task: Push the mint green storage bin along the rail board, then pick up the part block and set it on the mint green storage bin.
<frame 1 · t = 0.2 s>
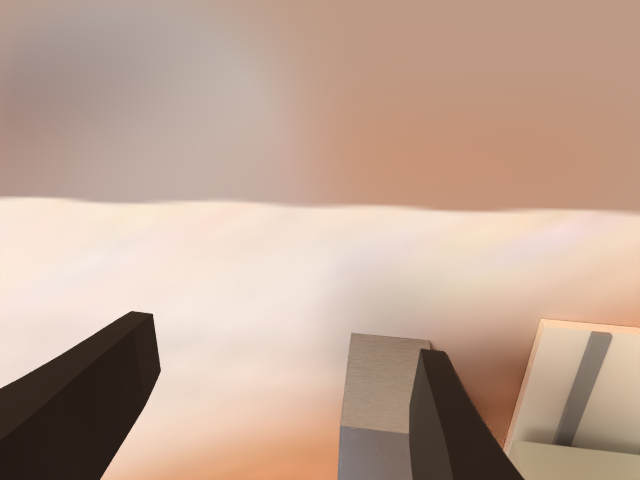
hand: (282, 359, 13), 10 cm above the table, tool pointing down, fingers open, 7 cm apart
part block: (386, 365, 25), on the table
rail board: (632, 468, 26), on the table
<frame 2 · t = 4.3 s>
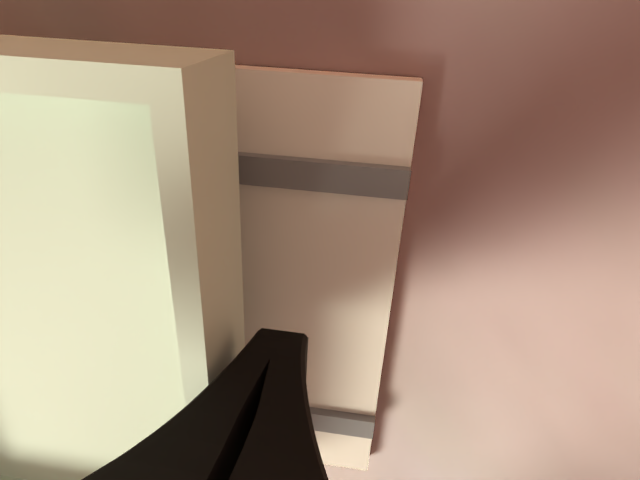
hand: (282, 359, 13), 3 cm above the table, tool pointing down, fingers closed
mint green storage bin: (58, 333, 13), point 3 cm above the table, slide at 1.2 cm, touching gripper
rail board: (105, 275, 16), on the table
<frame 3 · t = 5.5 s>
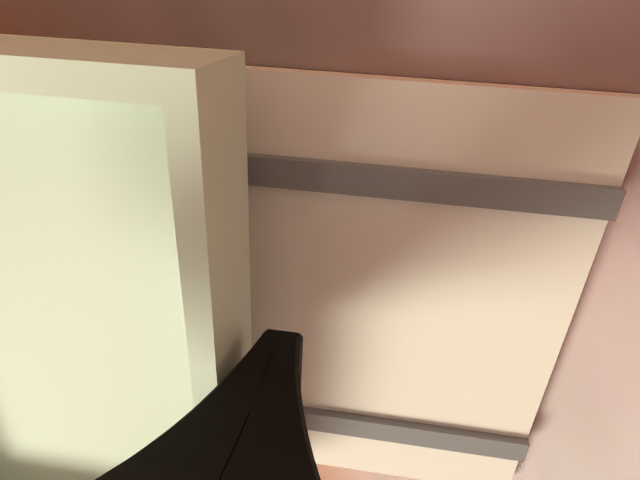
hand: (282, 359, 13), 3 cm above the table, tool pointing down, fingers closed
mint green storage bin: (65, 333, 13), point 3 cm above the table, slide at 6.1 cm, touching gripper
rail board: (253, 293, 15), on the table
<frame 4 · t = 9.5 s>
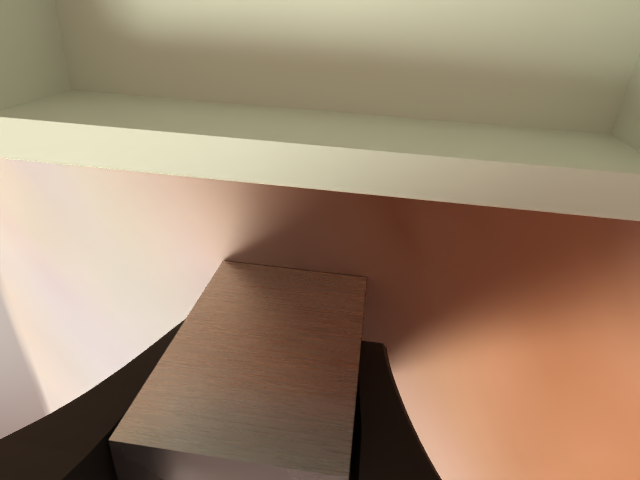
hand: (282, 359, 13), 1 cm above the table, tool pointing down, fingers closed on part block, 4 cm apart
part block: (292, 327, 14), on the table, touching gripper
when the fingers open (5 cm above the table, at t = 13.0 s): part block stays where it is, resting on mint green storage bin.
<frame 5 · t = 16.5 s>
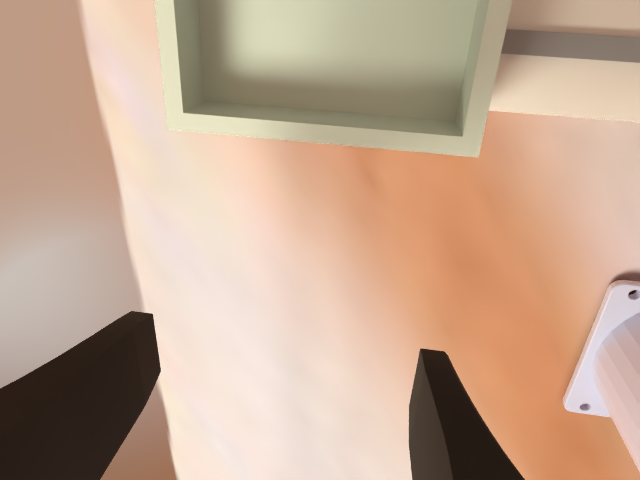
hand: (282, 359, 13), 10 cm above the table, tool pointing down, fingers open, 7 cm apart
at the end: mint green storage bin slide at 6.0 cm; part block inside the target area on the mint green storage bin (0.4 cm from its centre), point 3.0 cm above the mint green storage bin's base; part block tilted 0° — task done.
